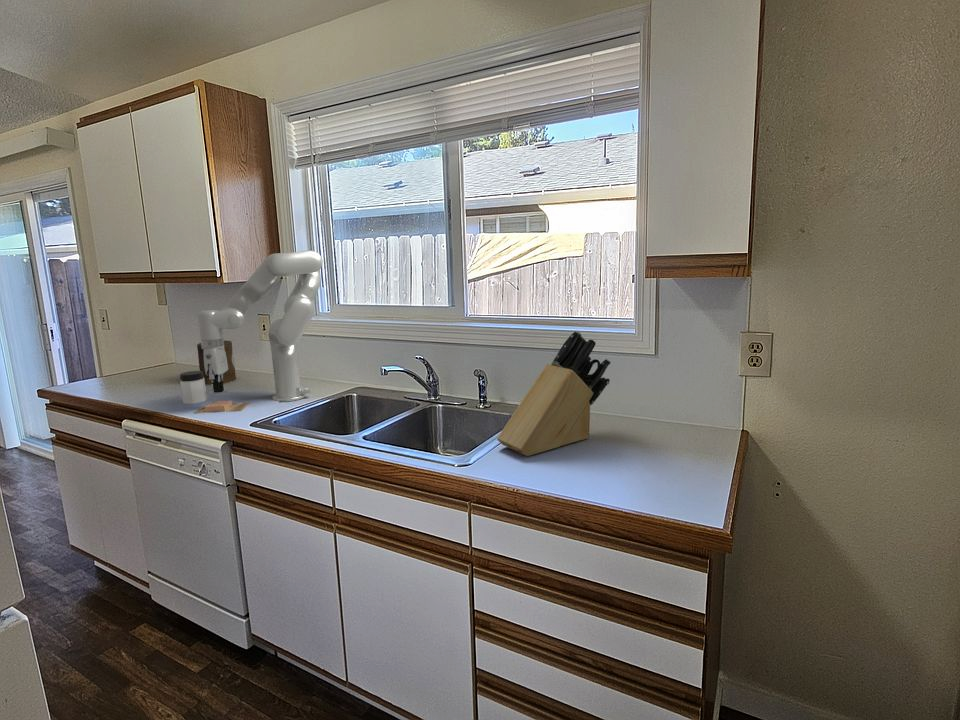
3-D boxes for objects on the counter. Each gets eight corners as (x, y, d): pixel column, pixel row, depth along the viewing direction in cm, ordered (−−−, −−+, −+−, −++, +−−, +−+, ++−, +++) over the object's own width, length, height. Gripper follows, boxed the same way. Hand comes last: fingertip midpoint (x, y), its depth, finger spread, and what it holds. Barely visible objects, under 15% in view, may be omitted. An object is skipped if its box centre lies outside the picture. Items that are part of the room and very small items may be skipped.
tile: (231, 400, 210) (224, 405, 202) (232, 405, 210) (224, 411, 203) (213, 401, 209) (204, 406, 202) (213, 406, 210) (205, 412, 202)
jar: (186, 400, 223) (182, 371, 221) (208, 398, 225) (204, 369, 223) (181, 406, 215) (177, 376, 212) (204, 403, 217) (200, 374, 215)
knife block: (613, 432, 166) (614, 330, 160) (521, 460, 146) (518, 345, 140) (586, 424, 175) (586, 327, 169) (496, 449, 155) (492, 340, 149)
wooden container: (243, 378, 261) (237, 332, 257) (216, 385, 248) (210, 337, 244) (220, 376, 268) (215, 331, 263) (194, 383, 254) (187, 336, 250)
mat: (251, 403, 214) (251, 402, 214) (240, 412, 202) (240, 411, 202) (206, 406, 213) (206, 404, 213) (193, 415, 201) (192, 413, 201)
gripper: (215, 346, 196) (221, 396, 200) (230, 340, 211) (236, 386, 214) (193, 347, 196) (200, 397, 199) (210, 341, 210) (216, 387, 214)
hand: (218, 391), depth 207 cm, fingers closed
